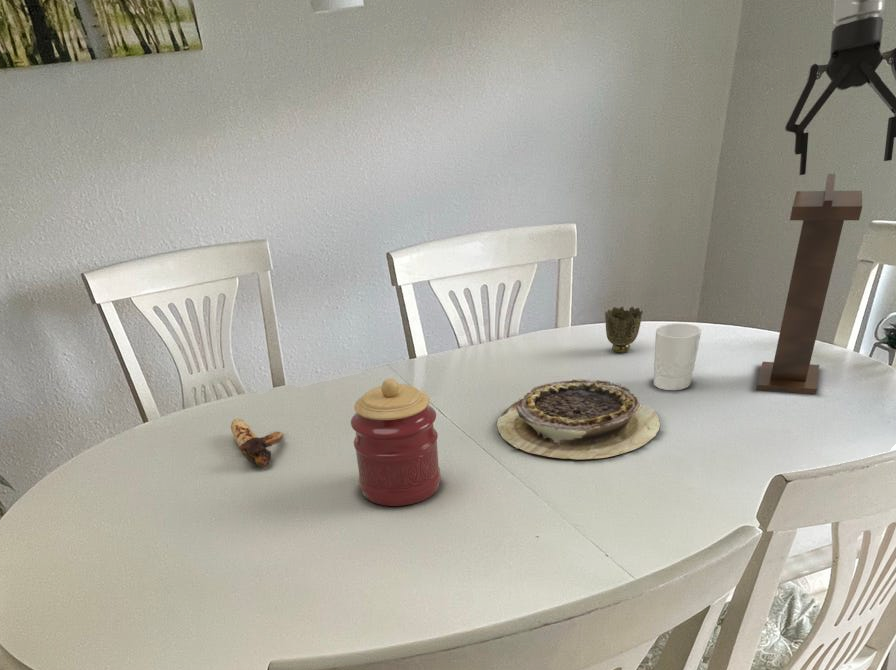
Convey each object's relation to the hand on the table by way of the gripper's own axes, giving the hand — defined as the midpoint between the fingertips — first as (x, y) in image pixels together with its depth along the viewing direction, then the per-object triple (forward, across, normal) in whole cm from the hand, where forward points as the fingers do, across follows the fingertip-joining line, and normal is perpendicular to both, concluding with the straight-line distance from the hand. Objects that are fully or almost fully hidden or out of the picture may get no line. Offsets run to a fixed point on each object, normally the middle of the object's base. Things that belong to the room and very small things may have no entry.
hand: (844, 168), depth 140 cm
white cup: (+31, -29, -19) cm, 47 cm away
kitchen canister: (+34, -69, -66) cm, 101 cm away
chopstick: (+3, -4, -18) cm, 18 cm away
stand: (+33, -8, -16) cm, 37 cm away
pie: (+33, -44, -39) cm, 68 cm away
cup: (+27, -40, -2) cm, 48 cm away
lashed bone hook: (+29, -98, -56) cm, 117 cm away
